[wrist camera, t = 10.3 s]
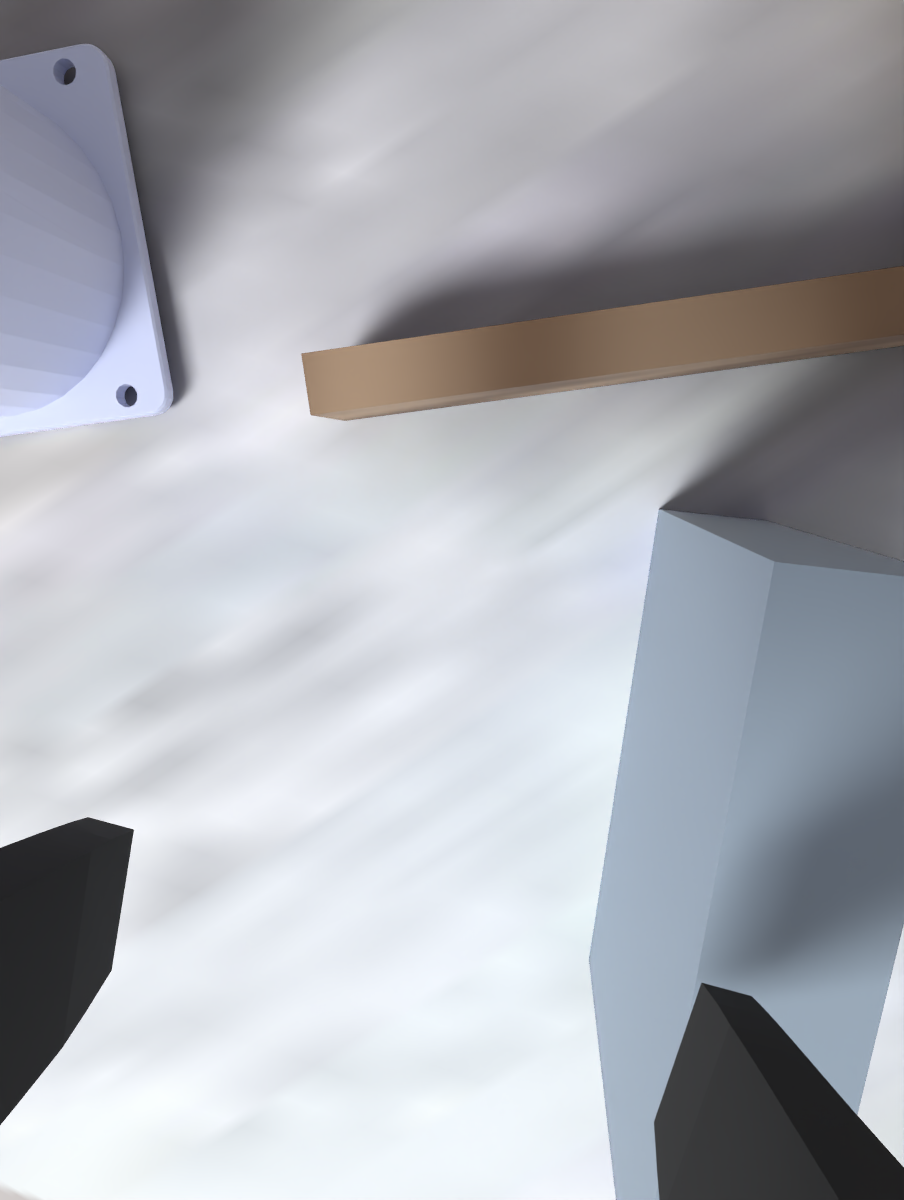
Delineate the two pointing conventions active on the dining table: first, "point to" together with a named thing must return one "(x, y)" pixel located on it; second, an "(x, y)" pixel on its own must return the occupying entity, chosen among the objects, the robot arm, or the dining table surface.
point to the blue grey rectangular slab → (752, 810)
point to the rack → (610, 346)
